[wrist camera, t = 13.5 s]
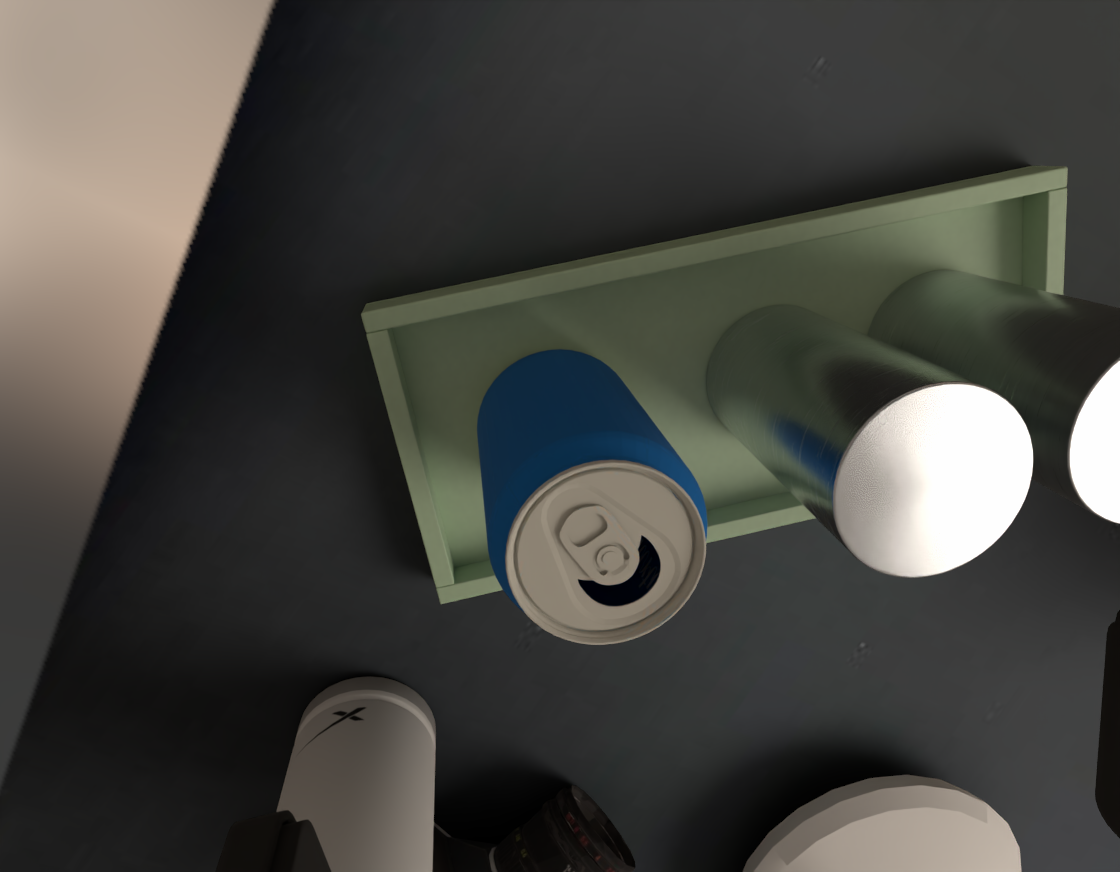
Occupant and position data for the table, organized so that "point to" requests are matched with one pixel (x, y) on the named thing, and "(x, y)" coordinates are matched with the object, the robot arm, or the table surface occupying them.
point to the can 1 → (873, 439)
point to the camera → (543, 842)
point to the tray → (679, 336)
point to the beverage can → (585, 501)
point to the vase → (890, 831)
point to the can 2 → (1026, 368)
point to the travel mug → (366, 776)
